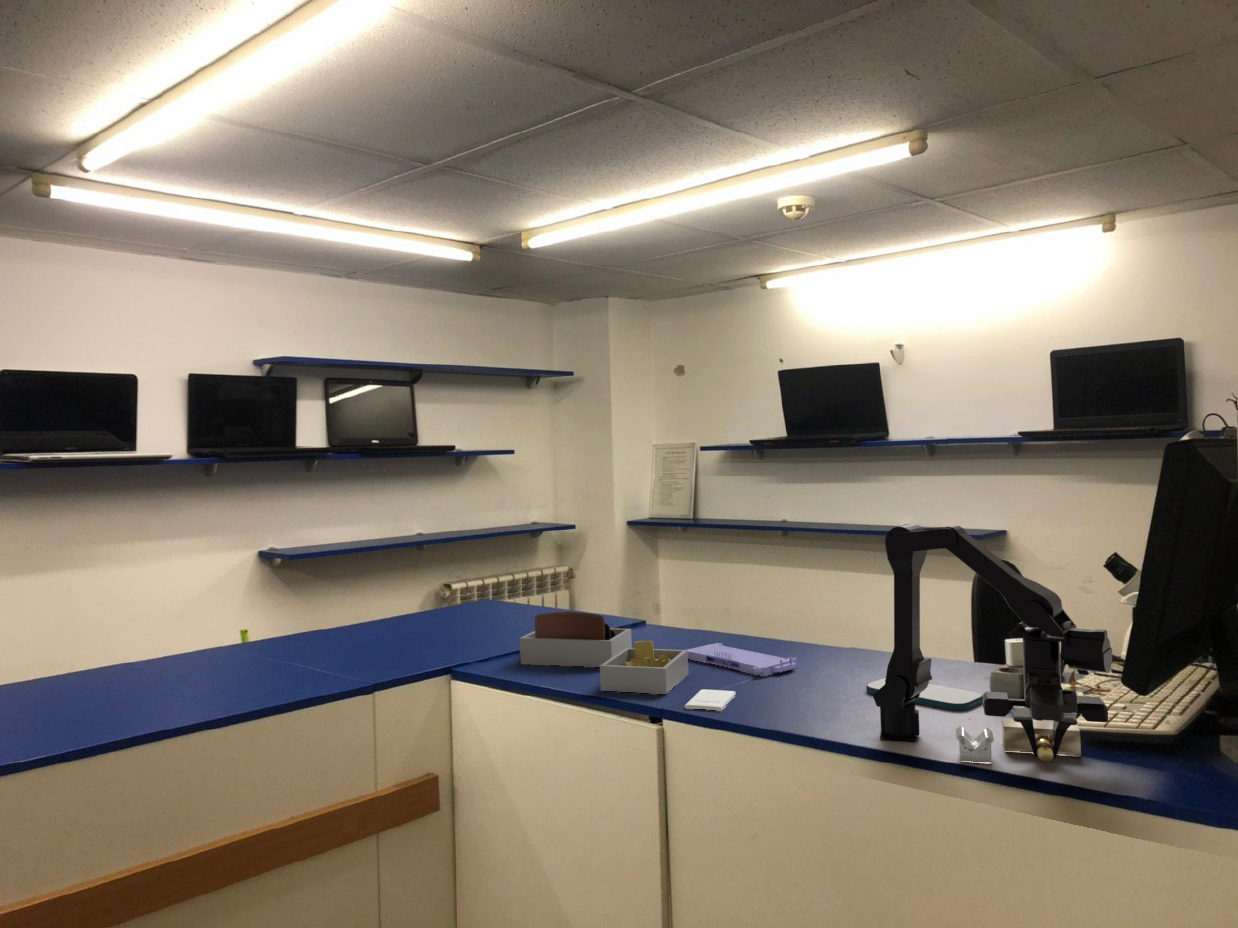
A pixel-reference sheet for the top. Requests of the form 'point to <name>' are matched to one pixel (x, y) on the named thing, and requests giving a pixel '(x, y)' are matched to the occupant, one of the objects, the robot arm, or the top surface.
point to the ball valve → (646, 656)
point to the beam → (1019, 740)
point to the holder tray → (572, 650)
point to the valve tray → (644, 672)
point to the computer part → (741, 659)
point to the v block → (975, 745)
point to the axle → (1044, 747)
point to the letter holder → (572, 626)
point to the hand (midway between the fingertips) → (1044, 757)
